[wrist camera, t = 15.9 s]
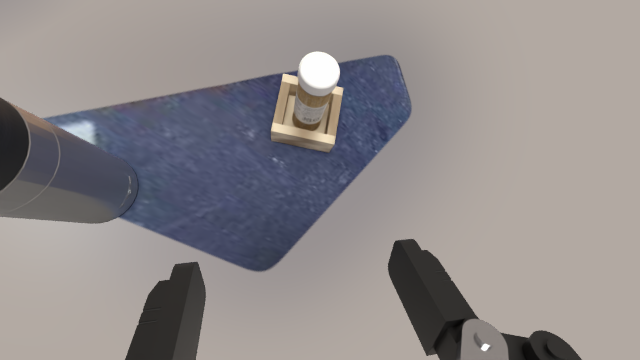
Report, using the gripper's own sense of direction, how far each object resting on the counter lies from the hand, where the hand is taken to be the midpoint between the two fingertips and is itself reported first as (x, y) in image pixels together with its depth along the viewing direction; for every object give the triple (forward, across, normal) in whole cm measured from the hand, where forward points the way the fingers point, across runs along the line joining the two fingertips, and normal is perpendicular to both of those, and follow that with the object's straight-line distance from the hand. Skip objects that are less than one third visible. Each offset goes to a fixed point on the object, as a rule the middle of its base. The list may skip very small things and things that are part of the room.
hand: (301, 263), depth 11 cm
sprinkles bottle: (+33, -5, +7) cm, 34 cm away
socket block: (+33, -5, +7) cm, 35 cm away
